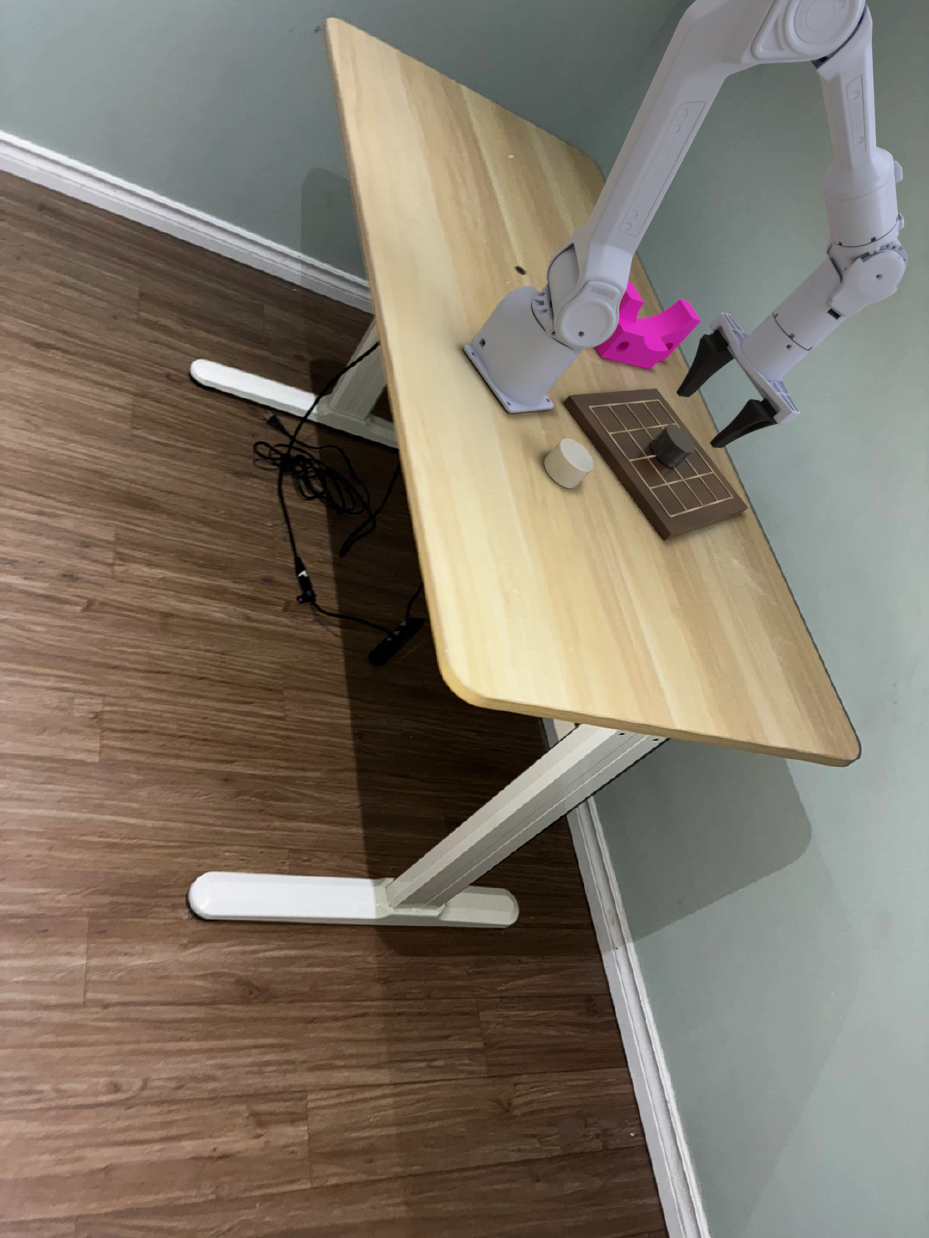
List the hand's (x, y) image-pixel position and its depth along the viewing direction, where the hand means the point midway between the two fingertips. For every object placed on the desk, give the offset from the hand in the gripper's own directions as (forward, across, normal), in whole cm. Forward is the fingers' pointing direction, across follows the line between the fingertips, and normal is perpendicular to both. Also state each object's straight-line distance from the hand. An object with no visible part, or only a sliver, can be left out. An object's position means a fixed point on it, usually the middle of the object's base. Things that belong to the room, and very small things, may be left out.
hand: (698, 419), depth 94 cm
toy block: (+7, +20, -10) cm, 23 cm away
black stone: (+6, 0, 0) cm, 6 cm away
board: (+7, 0, 0) cm, 7 cm away
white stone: (+7, -2, +19) cm, 20 cm away
